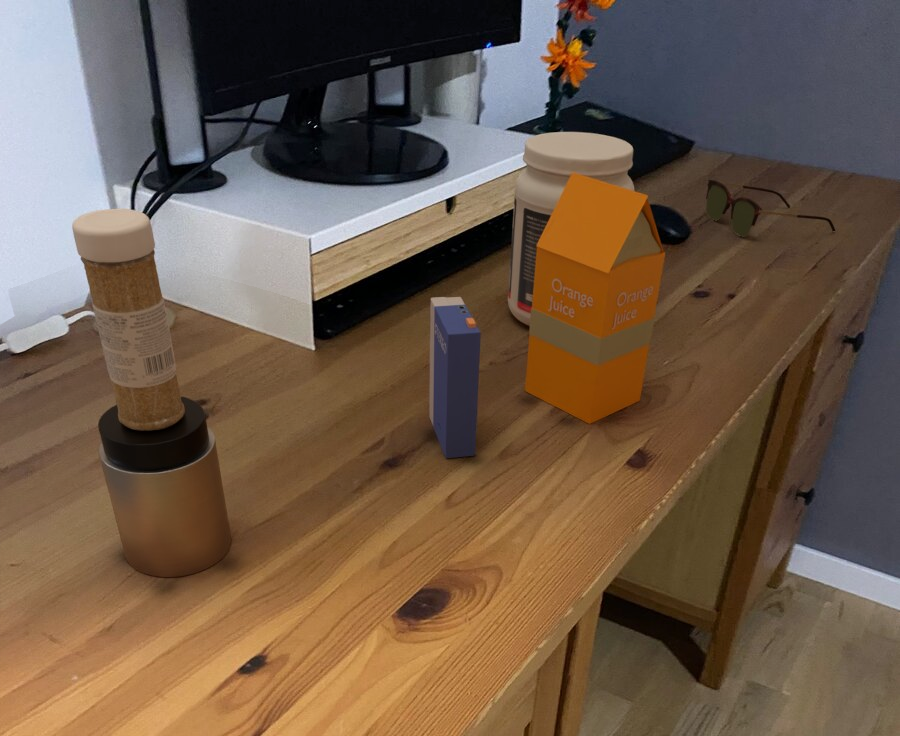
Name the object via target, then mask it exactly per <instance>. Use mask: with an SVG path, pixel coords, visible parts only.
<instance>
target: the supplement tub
mask: <svg viewBox="0 0 900 736" xmlns="http://www.w3.org/2000/svg"><path fill="white" fill-rule="evenodd" d="M523 152H524V153H523V155H522V161H523V163H525V165H526V168H525V169H524V170H523V171H522V172H521V173H520V174H519V176H518V178H517V179H516V182H515V185H514V186H515V187H514V199H513V215H512V231H511V244H510V245H511V247H510V263H509V279H508V294H507V295H508V296H507V304H508V308H509V311H510V312H511V314H512V315H513V317H514V318H515V319H516V320H518V321H519V322H521V323H522V324H524V325H526V326H528V327H530V317H531V308H532V300H533V288H534V276H535V264H536V252H537V246H536V245H537V243H538V241H539V239H540V237H541V235H542V233H543V231H544V229H545V227H546V225H547V223H548V221H549V219H550V217H551V215H552V213H553V211H554V209H555V207H556V205H557V203H558V201H559V199H560V196H561V194H562V192H563V190H564V188H565V186H566V184H567V182H568V180H569V178H570V176H571V174H572V172H574V173H577V174H580V175H583V176H587V177H590V178H593V179H596V180H600V181H603V182H606V183H609V184H613V185H616V186H619V187H622V188H626V189H629V190H632V191H635V192H636V190H635V185H634V182H633V180H632V178H631V177H630V176H629V174H628V171H630V170H631V169H632V167H633V165H634V162H633V158H634V148H633V145H631V144H630V143H629V142H627V141H626V140H624V139H621V138H619V137H615V136H610V135H605V134H599V133H593V132H583V131H557V132H546V133H540V134H536V135H533V136H531V137H529V138H528V139H527V140H526V141H525V143H524V151H523Z"/></svg>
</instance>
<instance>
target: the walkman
mask: <svg viewBox="0 0 900 736" xmlns="http://www.w3.org/2000/svg"><path fill="white" fill-rule="evenodd" d="M429 313H430V315H429V316H430V317H429V319H430V320H429V321H430V322H429V323H430V327H429V329H430V332H429V333H430V334H429V337H430V338H429V397H428V398H429V401H428V402H429V404H428V406H429V407H428V408H429V409H428V410H429V411H428V414H429V420H430V422H431V425H432V428H433V430H434V433H435V436H436V437H437V440H438V443H439V446H440V448H441V450H442V453H443V455H444V458H445V459H453V458H455V459H456V458H464V457H475V456H476V448H477V447H476V446H477V427H478V426H477V425H478V424H477V423H478V406H479V405H478V403H479V402H478V401H479V381H480V379H479V378H480V359H481V337H482V336H481V335H482V332H481V329H479V327H478V325H477V322H476V321H475V318H474V317H473V316H472V313H471V312H470V310H469V309H468V307H467V305H466V304H465V302H464V300H463V298H462V297H461V296H453V297H450V296H449V297H446V296H438V297H431V298H430V312H429Z"/></svg>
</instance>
